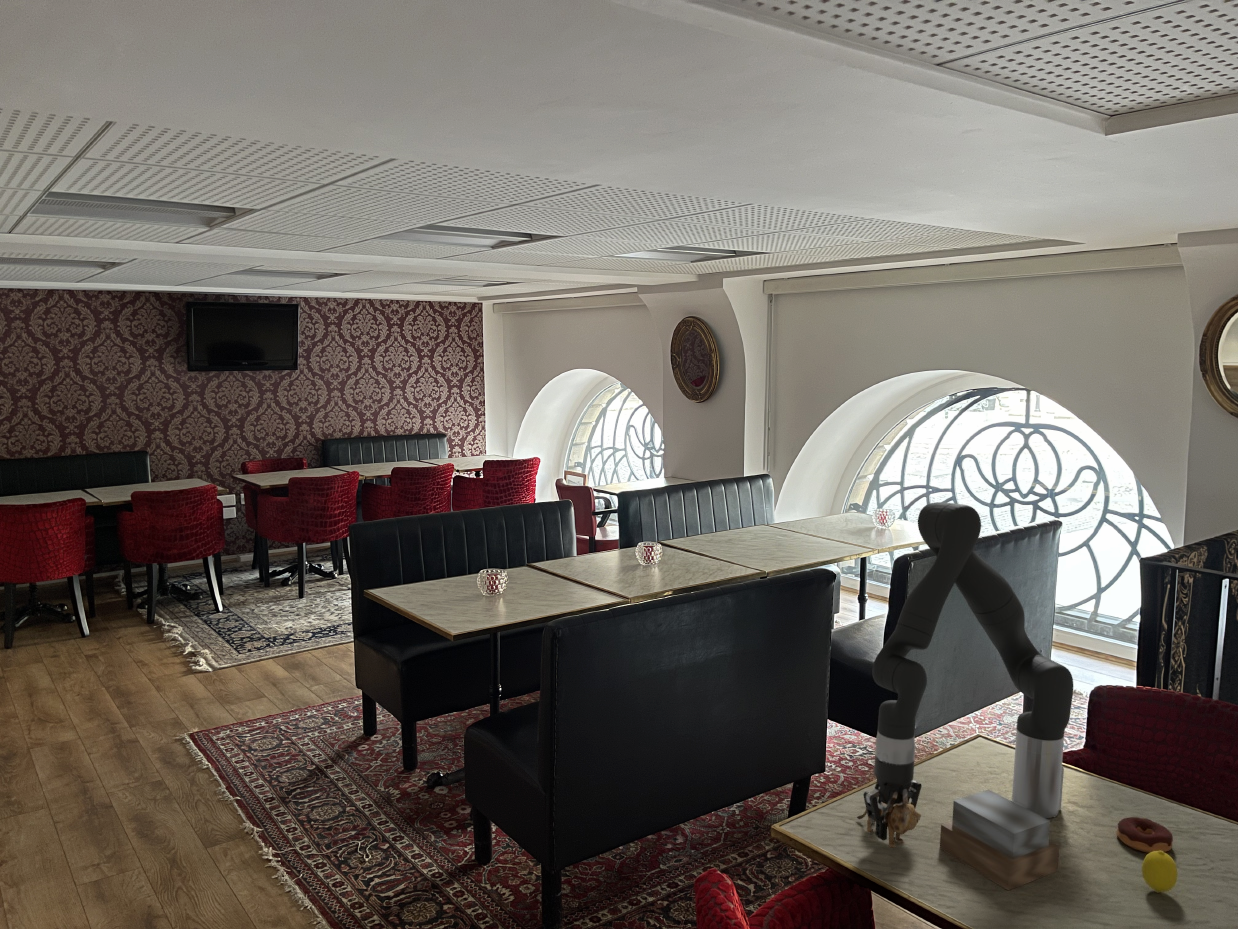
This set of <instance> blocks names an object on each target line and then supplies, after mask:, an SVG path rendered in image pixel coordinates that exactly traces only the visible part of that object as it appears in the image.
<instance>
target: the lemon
mask: <svg viewBox="0 0 1238 929" xmlns="http://www.w3.org/2000/svg"><path fill="white" fill-rule="evenodd" d="M1141 875H1142V878H1143V880H1144V881H1145V883H1146V884H1147V886H1148V887H1150V888H1151V889H1152V890H1154V891H1155V893H1157V894H1158V893H1159V894H1160V893H1161V892H1168V891H1170V890H1172V889H1173V888H1174V887H1175V886H1176V884H1177V881H1178V867H1177V865H1176V863H1175V861H1174V859H1173V858H1172V857H1171V855H1169V854H1168V853H1166V852H1163V851H1161V850H1160V851H1153V852H1150V853H1147V854H1146V856H1145V857H1144V859H1143V862H1142V866H1141Z"/></svg>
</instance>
